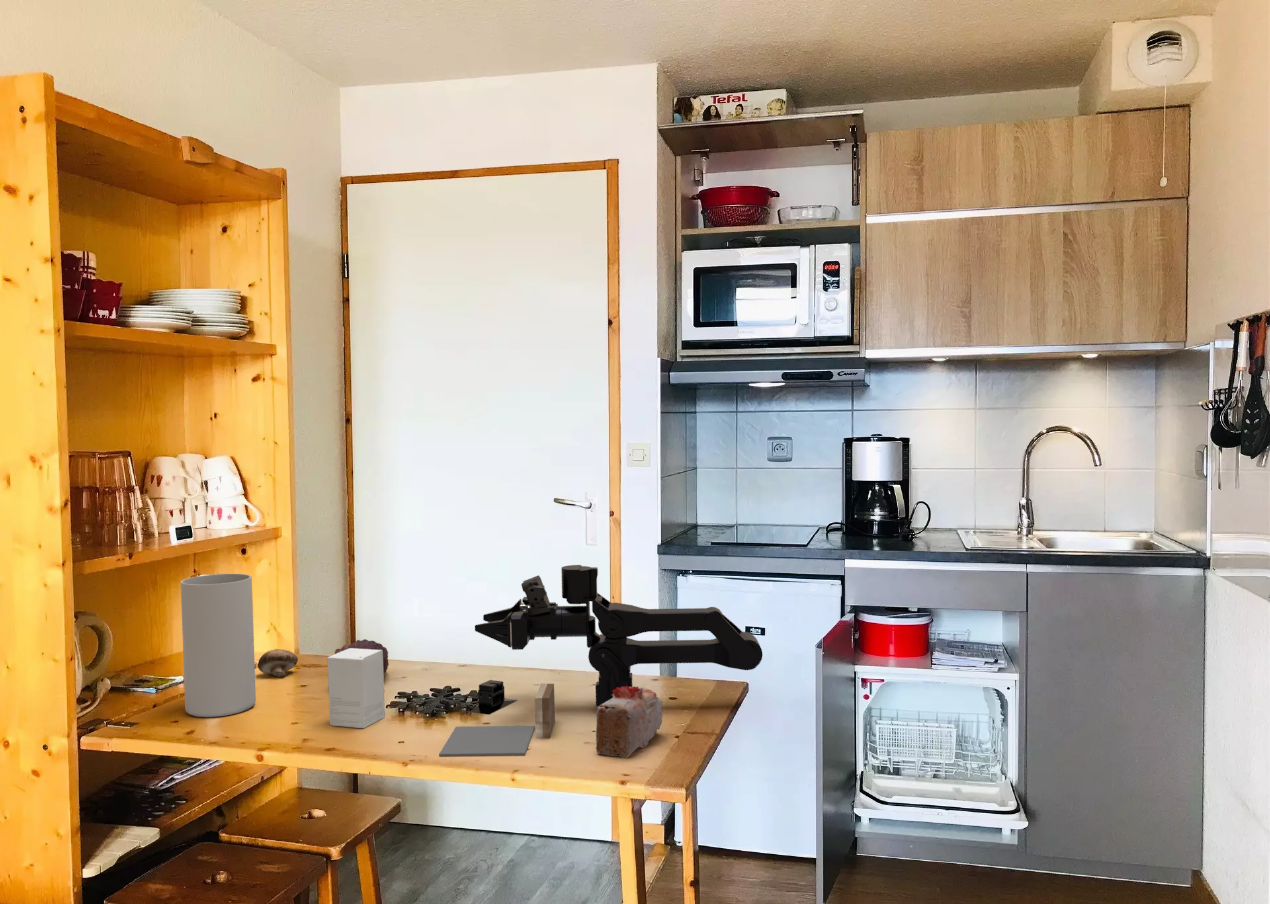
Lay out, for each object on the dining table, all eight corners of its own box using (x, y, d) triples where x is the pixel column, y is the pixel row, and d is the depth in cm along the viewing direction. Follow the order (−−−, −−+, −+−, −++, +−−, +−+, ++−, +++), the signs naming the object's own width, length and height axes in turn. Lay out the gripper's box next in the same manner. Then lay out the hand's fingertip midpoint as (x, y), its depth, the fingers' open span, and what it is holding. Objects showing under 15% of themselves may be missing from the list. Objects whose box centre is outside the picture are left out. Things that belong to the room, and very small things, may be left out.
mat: (534, 727, 175) (534, 725, 175) (524, 755, 161) (524, 752, 161) (455, 728, 176) (455, 726, 176) (439, 756, 162) (439, 753, 162)
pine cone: (358, 670, 217) (383, 631, 217) (390, 696, 213) (415, 657, 213) (310, 669, 200) (337, 627, 201) (344, 697, 197) (372, 654, 197)
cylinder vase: (261, 711, 188) (257, 580, 187) (189, 722, 182) (185, 587, 181) (249, 695, 199) (245, 571, 198) (181, 705, 192) (176, 577, 191)
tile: (554, 721, 179) (554, 683, 178) (549, 738, 170) (548, 697, 169) (541, 721, 179) (540, 683, 178) (535, 738, 170) (534, 698, 170)
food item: (623, 729, 174) (622, 673, 173) (666, 734, 171) (665, 677, 171) (591, 755, 161) (590, 695, 161) (637, 760, 158) (636, 699, 158)
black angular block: (488, 720, 182) (487, 694, 182) (453, 715, 185) (452, 689, 185) (526, 701, 194) (526, 676, 193) (493, 696, 197) (493, 672, 197)
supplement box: (386, 717, 183) (384, 649, 183) (363, 729, 176) (361, 659, 176) (352, 713, 186) (350, 646, 185) (327, 725, 179) (325, 656, 178)
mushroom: (287, 666, 209) (282, 639, 212) (253, 681, 209) (248, 654, 212) (306, 675, 216) (301, 649, 219) (273, 689, 216) (269, 663, 219)
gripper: (565, 570, 195) (486, 571, 195) (556, 587, 176) (469, 588, 176) (566, 626, 195) (487, 627, 195) (558, 649, 176) (470, 650, 177)
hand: (479, 622), depth 186 cm, fingers open, 9 cm apart
